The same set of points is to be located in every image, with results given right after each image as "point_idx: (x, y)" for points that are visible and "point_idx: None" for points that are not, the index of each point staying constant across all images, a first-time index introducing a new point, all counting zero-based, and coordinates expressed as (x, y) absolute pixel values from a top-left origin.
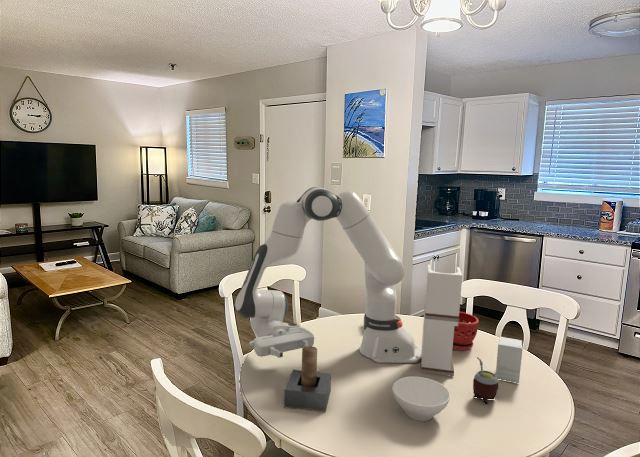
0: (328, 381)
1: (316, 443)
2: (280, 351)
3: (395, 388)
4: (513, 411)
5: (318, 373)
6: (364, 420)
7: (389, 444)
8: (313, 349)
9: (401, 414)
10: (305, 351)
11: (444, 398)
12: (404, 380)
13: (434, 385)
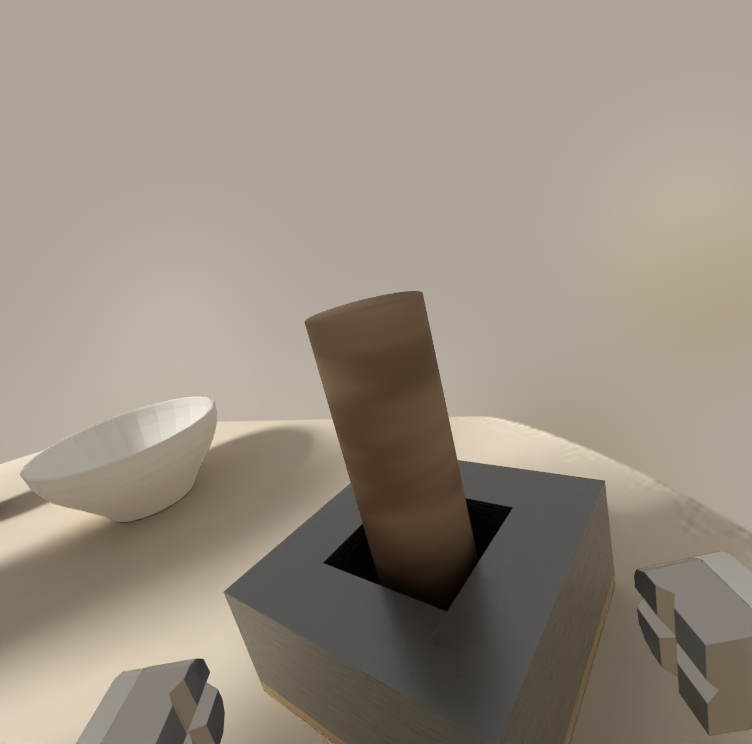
0: (312, 519)
1: (499, 430)
2: (689, 579)
3: (138, 470)
4: (8, 486)
5: (300, 607)
6: (311, 485)
7: (327, 430)
8: (338, 311)
9: (197, 496)
10: (409, 293)
11: (94, 453)
12: (67, 485)
13: (43, 470)
